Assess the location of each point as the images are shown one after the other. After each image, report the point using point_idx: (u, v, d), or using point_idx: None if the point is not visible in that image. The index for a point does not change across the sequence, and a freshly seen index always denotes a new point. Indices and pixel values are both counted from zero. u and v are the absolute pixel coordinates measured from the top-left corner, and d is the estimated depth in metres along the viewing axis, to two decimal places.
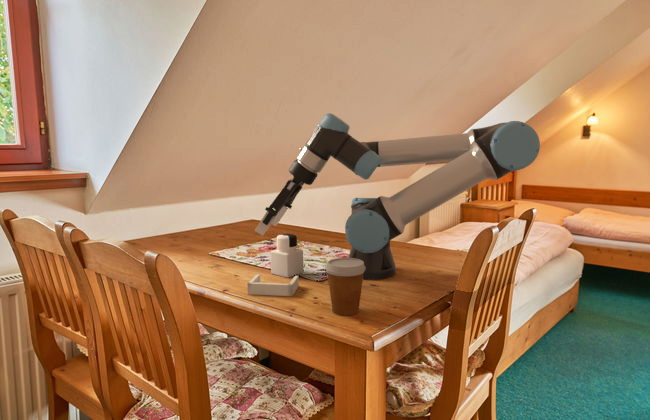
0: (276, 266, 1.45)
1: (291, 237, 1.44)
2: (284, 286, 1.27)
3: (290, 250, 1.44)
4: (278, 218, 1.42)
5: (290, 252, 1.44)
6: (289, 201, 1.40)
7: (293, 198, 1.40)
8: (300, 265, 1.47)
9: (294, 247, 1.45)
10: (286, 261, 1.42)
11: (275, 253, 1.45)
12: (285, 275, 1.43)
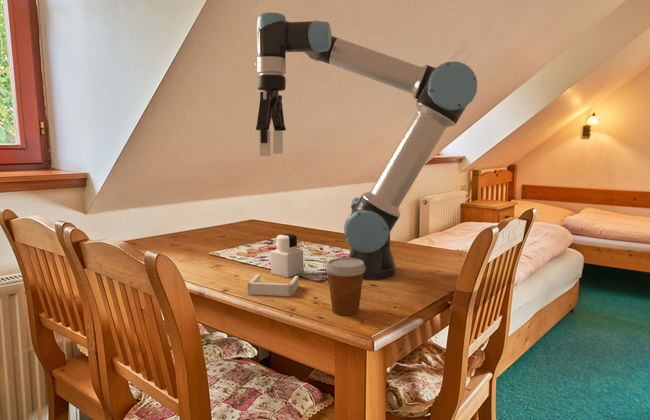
0: (276, 266, 1.45)
1: (291, 237, 1.44)
2: (284, 286, 1.27)
3: (290, 250, 1.44)
4: (280, 144, 1.39)
5: (290, 252, 1.44)
6: (279, 122, 1.37)
7: (281, 117, 1.37)
8: (300, 265, 1.47)
9: (294, 247, 1.45)
10: (286, 261, 1.42)
11: (275, 253, 1.45)
12: (285, 275, 1.43)
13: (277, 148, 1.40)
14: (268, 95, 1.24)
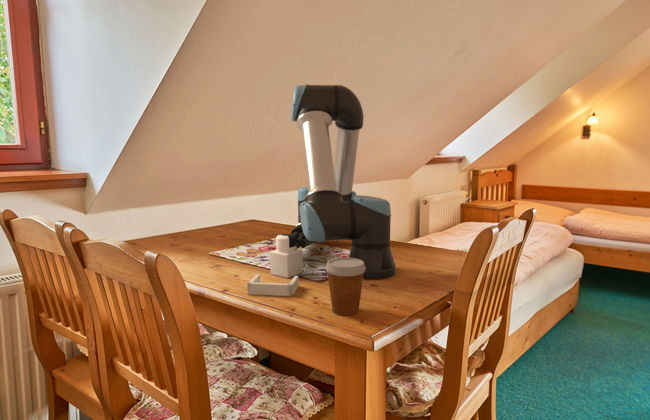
0: (276, 267, 1.45)
1: (291, 237, 1.43)
2: (284, 286, 1.27)
3: (290, 250, 1.44)
4: None
5: (290, 253, 1.43)
6: None
7: (300, 238, 1.61)
8: (299, 265, 1.46)
9: (294, 247, 1.44)
10: (286, 261, 1.42)
11: (275, 253, 1.44)
12: (285, 275, 1.43)
13: None
14: None
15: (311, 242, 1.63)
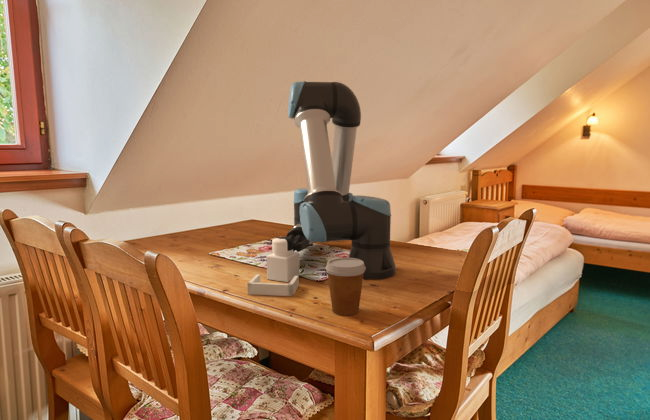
0: (274, 271, 1.40)
1: (289, 240, 1.40)
2: (284, 286, 1.27)
3: (288, 254, 1.40)
4: None
5: (288, 256, 1.39)
6: None
7: (296, 241, 1.57)
8: (297, 269, 1.43)
9: (291, 250, 1.41)
10: (285, 265, 1.38)
11: (272, 258, 1.39)
12: (284, 280, 1.39)
13: None
14: None
15: (307, 245, 1.59)
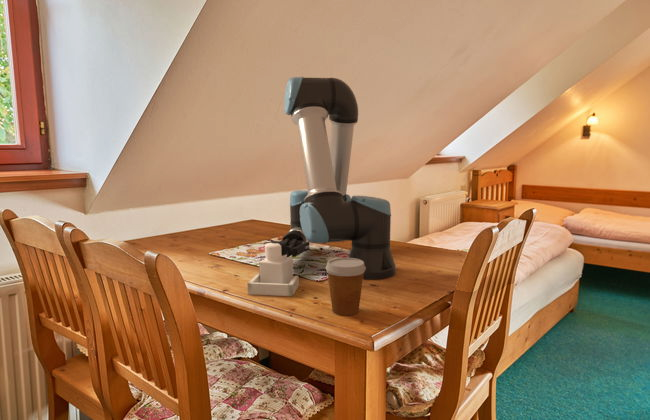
0: (267, 277, 1.34)
1: (282, 245, 1.34)
2: (284, 286, 1.27)
3: (282, 259, 1.34)
4: None
5: (283, 261, 1.34)
6: None
7: (292, 246, 1.50)
8: (291, 274, 1.37)
9: (285, 255, 1.35)
10: (280, 271, 1.32)
11: (265, 263, 1.34)
12: None
13: None
14: None
15: (303, 250, 1.53)
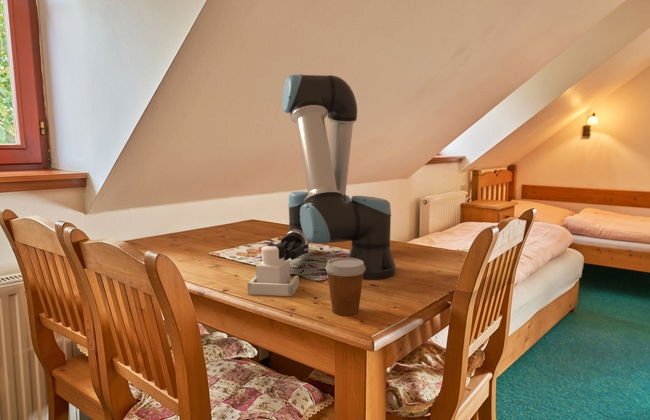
0: (264, 281, 1.31)
1: (280, 247, 1.31)
2: (284, 286, 1.27)
3: (279, 262, 1.31)
4: None
5: (280, 264, 1.30)
6: None
7: (290, 248, 1.47)
8: (288, 277, 1.34)
9: (283, 258, 1.32)
10: (278, 274, 1.29)
11: (262, 267, 1.30)
12: None
13: None
14: None
15: (302, 253, 1.49)
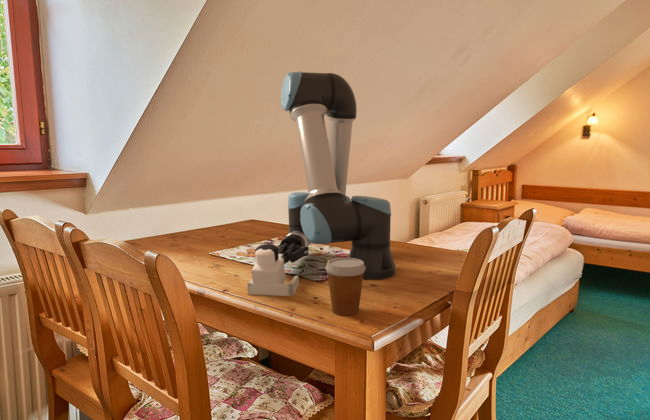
0: None
1: (275, 250, 1.27)
2: (284, 286, 1.27)
3: (275, 264, 1.28)
4: None
5: (277, 267, 1.27)
6: None
7: (290, 251, 1.43)
8: (283, 274, 1.32)
9: (278, 259, 1.28)
10: (276, 278, 1.27)
11: (259, 271, 1.27)
12: None
13: None
14: None
15: (302, 255, 1.45)
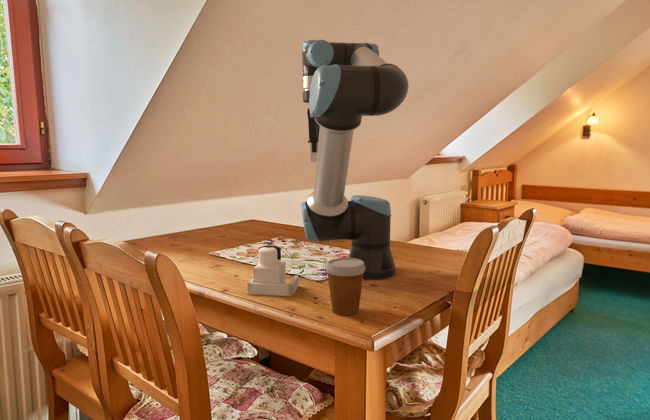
0: None
1: (278, 249, 1.30)
2: (284, 286, 1.27)
3: (277, 263, 1.30)
4: (317, 154, 1.63)
5: (279, 266, 1.29)
6: (317, 132, 1.62)
7: (319, 130, 1.63)
8: (284, 278, 1.34)
9: (280, 259, 1.31)
10: (278, 276, 1.28)
11: (261, 269, 1.28)
12: None
13: None
14: None
15: None
